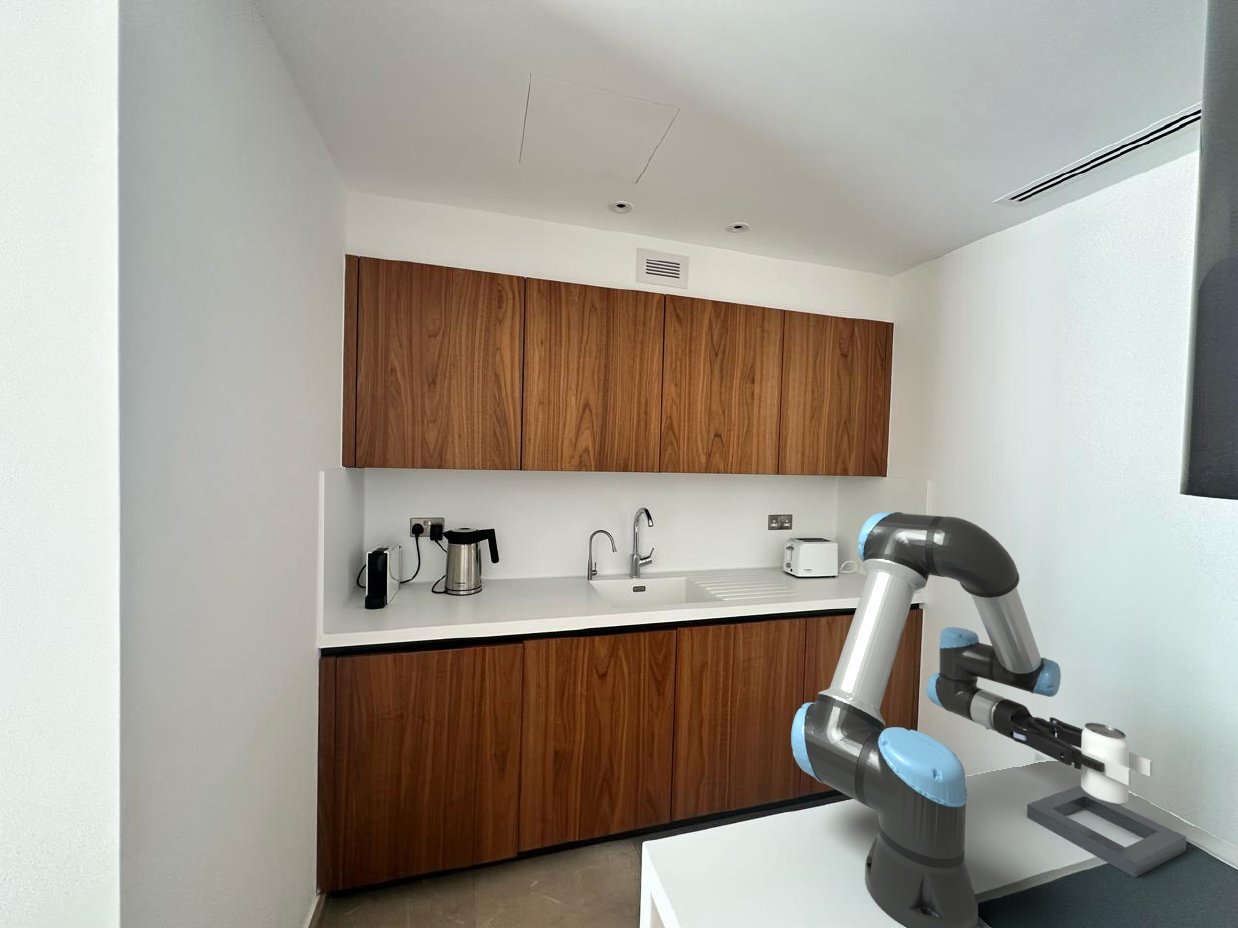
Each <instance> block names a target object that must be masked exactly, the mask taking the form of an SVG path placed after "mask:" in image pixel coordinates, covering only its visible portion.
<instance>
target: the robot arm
mask: <svg viewBox="0 0 1238 928" xmlns="http://www.w3.org/2000/svg"><path fill="white" fill-rule="evenodd" d="M857 543H858V546H857V552H858V557H859V558H860V560H861V561H862V568H863V570H864V571H865V573H866V575H867V576H866V580H865V582H864V586H863V588H862V591H861V595H860V597H859V599H858V603H857V606H856V609H855V611H854V612H855V613H854V615H853V618H852V620H851V623H850V627H849V630H848V633H847V636H846V639H845V642H844V644H843V648H842V650H841V654H840V656H839V660H838V663H837V665H836V669H835V670H834V674H833V676H832V677H833V678H832V680H831V683H830V686H829V687H828V688H827V689H825V690H821V691H819V692H818V694H817V696H816V699H815V702H806V703H803V704H801V708H799V709H798V710H797V711H796V713H795V715H794V719H793V722H792V727H791V732H790V733H791V734H790V735H791V738H790V741H791V748H792V755H793V758H794V759H795V760H794V761H795V762H796V764H797V765H798V766H799V768H800V769H801V770H802V771H803V772H804V773H806V774H808V775H809V776H812V777H813V778H814V779H816V780H817V781H818V782H819V783H820V784H824V785H827V786H829V787H831V788H833V789H834V790H836V791H838V792H839V793H842V794H844V795H845V796H848V798H851V799H853V800H854V801H856V802H859V803H861V804H862V805H864V806H866V807H868V808H870V809H872V810H873V811H875V812H876V813H878V814H877V820H878V821H877V833H876V835H875V837H874V841H873V842H872V845H871V846H870V849H869V851H868V854H867V856H866V860H865V865H864V883H865V886H866V889H867V891H868V893H869V895H870V897H871V899H873V901H874V902H875V903H876V904H877V906H878V907H880V909H881V910H883V911H884V912H885V913H886V914H887V915H889V916H890V917H891V918H893V919H894V920H895V921H897V922H898V923H900V924H902V925H903V926H906V927H907V928H977V926H978V923H979V922H978V921H979V919H978V917H979V906H978V905H979V904H978V900H977V896H976V894H975V892H974V889H973V885H972V882H971V878H970V875H969V872H968V867H967V865H966V862H965V846H966V810H967V809H966V807H967V800H968V790H967V788H966V772H965V768H964V766H963V763H962V762H961V761H960V759H959V758H958V756H957V755H956V753H955V752H953V751H952V750H951V749H950V748H949V747H948V746H946V745H945V744H944V743H943V742H941V741H940V740H937V739H935V738H933V737H932V736H929V735H927V734H925V733H923V732H920V731H918V730H914V729H906V728H905V727H897V726H895V727H893V726H892V727H887V728H885V727H886V721H885V720H884V718H883V716H882V714H881V711H880V708H881V705H882V702H883V700H884V696H885V692H886V688H887V685H888V682H889V679H890V677H891V676H890V675H891V672H892V668H893V667H894V666H893V665H894V662H895V659H896V655H897V652H898V649H899V644H900V641H901V639H902V635H903V632H904V629H905V625H906V621H907V619H908V615H909V611H910V609H911V605H912V601H913V599H914V598H913V597H914V596H915V592H917V591H920V590H922V589H925V588H926V586H927V583H928V580H929V577H930V576H935V577H940V578H941V577H942V578H949V579H951V580H955V581H957V582H959V584H960V586H961V588H962V589H963V590H964V591H965V592H966V593H968V594H969V595H970V596H971V598H972V600H973V603H974V605H975V607H976V610H977V612H978V614H979V617H980V619H981V622H982V624H983V627H984V629H985V631H986V633H987V635H988V636H987V637H988V638H989V640H990V644H991V645H990V644H986V643H982V642H980V640H979V635H978V634H977V633H976V632H975V631H973V630H969V629H967V628H963V627H955V626H953V627H952V626H951V627H945V628H942V630H940V631H941V632H940V638H939V640H940V641H939V645H938V648H939V672H936V673H933V674H932V675H930V677H929V679H928V680H927V681H928V683H927V684H926V695H927V697H928V699H929V700H930V702H932V703H933V704H934V705H936V706H938V707H940V708H942V709H944V710H945V711H946V712H950V713H952V714H955V715H956V716H957V715H958V716H960V717H962V718H965V719H967V720H969V721H971V722H974V723H976V724H978V725H981V726H982V727H984V728H985V730H992V731H994V732H996V733H998V734H1000V735H1002V736H1004V737H1007V738H1009V739H1011V740H1013V741H1014V742H1017V743H1020V744H1022V745H1025V746H1027V747H1029V748H1031V749H1034V750H1036V751H1037V752H1040V753H1042V754H1044V755H1046V756H1048V757H1050V758H1052V759H1054V760H1056V761H1058V762H1060V763H1062V764H1064V765H1066V766H1072V765H1073V768H1074V769H1076V770H1081V767H1082V765H1083V766H1085V767H1087V768H1090V769H1092V770H1094V771H1097V772H1099V773H1101V774H1103V775H1106V776H1108V777H1110V778H1112V779H1115V780H1117V781H1119V782H1122V783H1124V784H1126V785H1128V786H1131V784H1132V770H1133V771H1135V772H1137V773H1140V774H1142V775H1145V776H1148V777H1149V778H1150V777H1153V760H1151V759H1148V758H1146V757H1143V756H1141V755H1138V754H1137V753H1134V752H1131V751H1129V768H1127V767H1125V766H1122V765H1120V764H1118V763H1115V762H1113V761H1110V760H1108V759H1106V758H1103V757H1101V756H1098V755H1096V754H1093V753H1091V752H1089V751H1086V750H1085V751H1083V754H1082V751H1081V742H1082V731H1083V730H1084V728H1080V727H1078V726H1075V725H1072V724H1069V723H1066V722H1064V721H1062V720H1060V719H1058V718H1056V717H1053V716H1052V717H1049V721H1048V720H1046V719H1045V718H1042V717H1039V716H1038V717H1037V716H1033V715H1032V714H1031V712H1030V710H1029V709H1028V708H1027V706H1025V705H1024V704H1022V703H1020V702H1017V701H1014V700H1011V699H1009V698H1005V697H1004V696H1001V695H999V694H996V693H994V692H991V691H989V690H986V689H984V688H981V687H978V679H979V678H981V679H983V680H987V681H991V682H995V683H998V684H1001V685H1005V686H1007V687H1008V686H1009V687H1011V688H1015V689H1018V690H1021V691H1024V692H1029V693H1030V694H1032V695H1033V694H1036V695H1041V696H1045V697H1050V698H1052V697H1055V696H1056V695H1057V694H1058V692H1059V689H1060V685H1061V678H1062V677H1061V676H1062V675H1061V667H1060V664H1058V663H1057V662H1056V661H1054V660H1052V659H1049V658H1046V657H1041V654H1040V652H1039V651H1040V650H1039V648H1038V646H1037V642H1036V640H1035V636H1034V634H1033V632H1032V627H1031V626H1030V625H1031V624H1030V623H1029V619H1028V617H1027V613H1026V611H1025V608H1024V605H1023V602H1022V598H1021V597H1020V593H1019V591H1018V588H1017V587H1018V586H1019V583H1020V574H1019V571H1018V568H1017V565H1016V563H1015V561H1014V559H1013V558H1012V556H1011V554H1010V553H1009V552H1008V551H1007V548H1006V549H1005V547H1004V546H1003V545H1002V544H1001V543H1000V541H998V540H997V539H996V538H995V537H994V536H993V535H991V533H989V532H988V531H987V530H985V529H984V528H982V527H980V526H978V525H977V524H975V523H973V522H971V521H969V520H966V519H964V518H960V517H956V516H950V515H949V516H947V515H946V516H943V515H942V516H939V515H929V514H928V515H927V514H915V513H904V512H901V511H892V512H885V511H883V512H882V511H881V512H878V513H875V514H873V515H872V516H870V517H868V519H867V520H866V521H865V523H864V524H863V526H862V528H861V530H860V532H859V535H858V539H857ZM1078 748H1080V749H1078ZM1072 763H1073V764H1072Z"/></svg>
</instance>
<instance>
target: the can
mask: <svg viewBox="0 0 1238 928" xmlns="http://www.w3.org/2000/svg"><path fill="white" fill-rule="evenodd" d="M1083 729H1084V730H1083V731H1082V742H1081V748H1080V751H1082V754H1083V751H1085V750H1086V751H1089V752H1091V753H1093V754H1096V755H1098V756H1101V757H1103V758H1106V759H1108V760H1110V761H1113V762H1115V763H1118V764H1120V765H1122V766H1125V767H1127V768H1129V752H1130V745H1129V742H1128V740H1127V739H1126V738H1127V735H1126V734H1125V732H1124V731H1122V730H1119V729H1118V728H1116V727H1113V726H1110V725H1106V724H1103V723H1098V722H1087V723H1085V724H1084V728H1083ZM1129 786H1130V785H1129ZM1129 786H1128V785H1126V784H1124V783H1122V782H1119V781H1117V780H1115V779H1112V778H1110V777H1108V776H1106V775H1103V774H1101V773H1099V772H1097V771H1094V770H1092V769H1090V768H1087V767H1085V766H1083V765H1082V767H1081V769H1080V787H1082V788H1083V790H1084V791H1085V792H1086V793H1087V794H1089V795H1090V796H1092V797H1094V798H1096V799H1098V800H1101V801H1103V802H1106V803H1110V804H1116V805H1120V806H1123V805H1125V804H1127V803H1128V802H1129V789H1130V788H1129Z"/></svg>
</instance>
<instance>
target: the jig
mask: <svg viewBox="0 0 1238 928" xmlns="http://www.w3.org/2000/svg"><path fill="white" fill-rule="evenodd" d="M1026 805H1027V806H1026V810H1027V811H1026V818H1027V819H1029V820H1031V821H1033V822H1035V823H1037V824H1038V825H1040V826H1042V827H1043V828H1045V829H1047V830H1048V831H1050V832H1053V833H1054V834H1056V835H1057V836H1060V837H1061V838H1063V839H1065V840H1067V841H1069V842H1071V843H1072V844H1074V845H1075V846H1078V847H1079V848H1081V849H1083V850H1085V851H1087V852H1088V853H1090V854H1092V855H1094V856H1095V857H1097V858H1099V859H1101V860H1102V861H1104V862H1106V863H1107V864H1109V865H1112V866H1113V867H1115V868H1117V869H1119V870H1121V871H1122V872H1124V873H1126V874H1128V875H1129V876H1131V877H1132V878H1137V877H1140V876H1141V875H1143V874H1146V872H1148V871H1151V870H1153V869H1154V868H1156V867H1158V866H1161V865H1162V864H1163V863H1166V862H1167V861H1169V860H1171V859H1173V858H1175V857H1177V856H1179V855H1181V854H1183V853H1185V852H1186V851H1187V836H1186V835H1184V834H1183V833H1182V834H1181V833H1180V832H1178V831H1175V830H1173V829H1171V828H1169V827H1167V826H1165V825H1163V824H1160V823H1158V822H1156V821H1154V820H1152V819H1150V818H1147V816H1146V817H1145V816H1143V815H1142V814H1140V813H1136V812H1134V811H1132V810H1131V809H1128V808H1126V807H1125V806H1123V805H1116V804H1110V803H1106V802H1103V801H1101V800H1098V799H1096V798H1094V797H1092V796H1090V795H1089V794H1087V793H1086V792H1085V791H1084V790H1083V788H1082V787H1081V785H1080V786H1079V785H1076V786H1073V787H1070V788H1067V789H1065V790H1062V791H1059V792H1058V793H1054V794H1051V795H1048V796H1046V797H1044V798H1041V799H1038V800H1035V801H1033V802H1031V803H1026ZM1081 810H1086V811H1088V812H1091V813H1092V814H1094V815H1096V816H1099V817H1100V818H1102V819H1104V820H1106V821H1109V822H1110V823H1112V824H1114V825H1116V826H1119V827H1121V828H1122V829H1125V830H1126V831H1128V832H1130V833H1132V834H1135V835H1136V836H1137V837H1140V838H1142V839H1140V840H1138V841H1136V842H1134V843H1133V844H1130V845H1128V846H1124V845H1122V844H1120V843H1118V842H1116V841H1114V840H1112V839H1110V838H1108V837H1106V836H1105V835H1103V834H1101V833H1099V832H1097V831H1095V830H1093V829H1092V828H1089V827H1087V826H1086V825H1083V823H1082V824H1081V823H1080V822H1078V821H1076V820H1074V819H1073V818H1070V817H1068V816H1070V815H1072V814H1074V813H1076V812H1079V811H1081Z"/></svg>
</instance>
